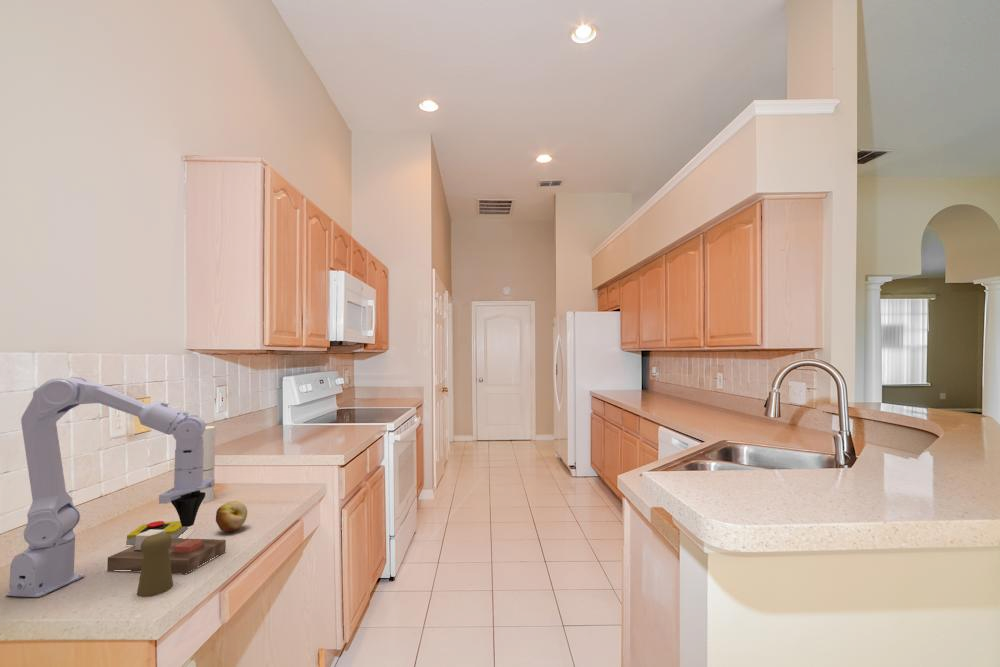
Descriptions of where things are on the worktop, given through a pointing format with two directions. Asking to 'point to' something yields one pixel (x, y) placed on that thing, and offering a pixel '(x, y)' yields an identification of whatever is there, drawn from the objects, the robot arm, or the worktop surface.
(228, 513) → the fruit
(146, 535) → the off-white plunger
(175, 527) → the emergency button
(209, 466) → the cylindrical container
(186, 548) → the salmon red square block
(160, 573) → the olive tall tapered piece
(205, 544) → the walnut plunger housing
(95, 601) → the worktop surface
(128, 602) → the worktop surface
